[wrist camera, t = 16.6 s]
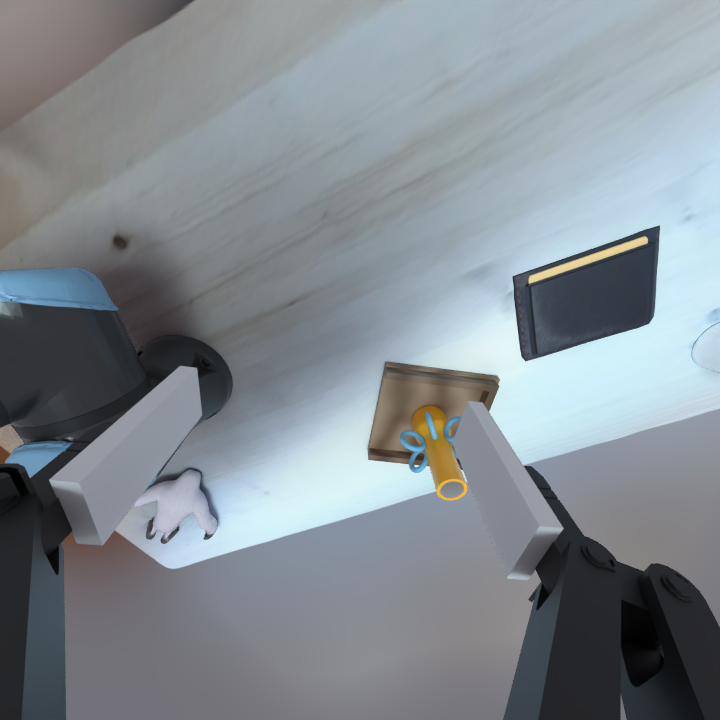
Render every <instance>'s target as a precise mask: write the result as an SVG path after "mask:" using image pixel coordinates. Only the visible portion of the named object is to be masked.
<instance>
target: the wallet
mask: <svg viewBox="0 0 720 720" xmlns="http://www.w3.org/2000/svg"><path fill="white" fill-rule="evenodd" d="M659 232H660V226H656V227H653V228H650V229H646V230H643V231H641V232H638V233H635V234H633V235H630V236H628V237H625V238H622V239H619V240H616V241H614V242H611V243H608V244H605V245H602V246H599V247H596V248H593V249H591V250H588V251H585V252H582V253H579V254H576V255H573V256H570V257H567V258H565V259H562V260H559V261H556V262H553V263H550V264H547V265H544V266H542V267H539V268H536V269H533V270H530V271H527V272H524V273H521V274H518V275H515V276H513V284H514V300H515V309H516V317H517V326H518V334H519V343H520V350H521V356H522V358H523V359H524V360H525V361H528V360H532V359H536V358H539V357H542V356H546V355H549V354H552V353H555V352H559V351H562V350H565V349H568V348H571V347H574V346H577V345H581V344H584V343H587V342H590V341H594V340H597V339H601V338H604V337H608V336H611V335H614V334H618V333H621V332H625V331H629V330H632V329H636V328H639V327H641V326H644V325H647V324H649V323H650V321H651V320H652V318H653V317H654V310H655V297H656V276H657V264H658V251H659Z"/></svg>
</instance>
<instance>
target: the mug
mask: <svg viewBox="0 0 720 720" xmlns="http://www.w3.org/2000/svg"><path fill="white" fill-rule="evenodd" d="M692 358H693V360H694V362H695V363H696V364H697V365H699V366H701V367H704V368H708V369H711V370H713V371H716V372H718V373H720V322H719V323H717V324H715V325H713V326H712V327H710V328H709V329H707V330H706V331H705V332H704V333H703V334H702V335H701V336H700V337H699V338H698V340H697V341H696V343H695V345H694V347H693V350H692Z"/></svg>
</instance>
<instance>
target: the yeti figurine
mask: <svg viewBox="0 0 720 720" xmlns="http://www.w3.org/2000/svg"><path fill="white" fill-rule="evenodd" d="M200 480H201V474H200V472H197V471H194V470H192V469H189V470H187V471H186V472H184V473H183V474H182V475H181V476H180V477H179V478H178V479H177V480H173V481H164V482H161V483H159V484H156V485H154V486H152V487H150V488H149V489H147V490H145V491H144V493H143V494H142V495H141V496H140V497H139V499H138V500H137V501H136V503H135V504H134V505H133V506H136V507H137V506H142V505H144V504H146V503H150V502H153V501H158V508H157V512H156V515H155V518H154V521H153V519H152V520H150V521H149V524H148V527H147V532H146V538H147V539H152V538H153V537H154V536H155V534H156V532H157V531H161V532H164V535H163V537H162V538H161V543H163V544H165V543H167V542H168V541H169V540H171V539H172V538H173V537H174V536H175V534H176V533H177V532H178V531H179V529H178V528H179V527H178V525H179V524H180V523H181V522H182V520H183V519H184V518H185V517H186V516H187V515H189V514H190V513H192V512H193V513H194V515H195V517H196V519H197V520H198V524H199V526H200V527H201V528H202V529H204V530H205V531H206V534H205V537H204V540H207V539H209V538H211V537H212V536H213V534H214V533H215V532H216V529H217V520H216V519H215V518H214V517H213V516H212V515H211V514H210V512H209V507H208V502H207V499H206V497H205V495H204V493H203V492H202V491H201V490H200V488H199V485H200Z"/></svg>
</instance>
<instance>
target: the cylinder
mask: <svg viewBox="0 0 720 720" xmlns="http://www.w3.org/2000/svg"><path fill="white" fill-rule="evenodd" d="M461 418H462V417H461V416H456V417H453V418H452V419H450V420H449V421H448V420H447V418H446V416H445V413H444V412H443V411H442V410H441V409H440V408H438V407H435V406H425V407H422V408H420V409H418V410H417V411H416V412H415V413H414V415H413V417H412V426H413V430H414V431H410V430H406V431H403V432H402V433H401V434H400V436H399V439H400V442H401V443H402V445H403V446H404V447H406V448H407V449H409V450H411V451H414V452H413V454H412V455H411V457H410V461H409V467H410V469H411V471H412V472H414V473H418V472H421V471H422V470H423V469H424V468H425V467H426V466H427V464H428V463H429V466H430V470H431V473H432V477H433V481H434V484H435V488H436V491H437V494H438V496H439V497H440V498H442V499H445V500H456V499H459V498H461V497H462V496H464V494H465V493H466V492H467V485H466V482H465V479H464V477H463V474H462V472H461V469H460V467H459V464H458V462H457V459H456V458H458V456H457V454H456V451H455V450H454V449H453V447H452V445H453V444H452V443H453V440H454V437H455V436H453V437H451V434H452V431H451V426H452V424H454V423H455V422H457V421H461ZM407 435H410V436H414V437H415V438H416V441H417V442H418V443H419V444H420V446H413V445H411V444H409V443H408V442H406V440H405V438H404V437H405V436H407ZM421 452H423V453H424V460H423V462H422V464H421V465H420V466H419V467H417V468H415V467H414V460H415V458H416V456H417V455H418V454H419V453H421Z"/></svg>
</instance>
